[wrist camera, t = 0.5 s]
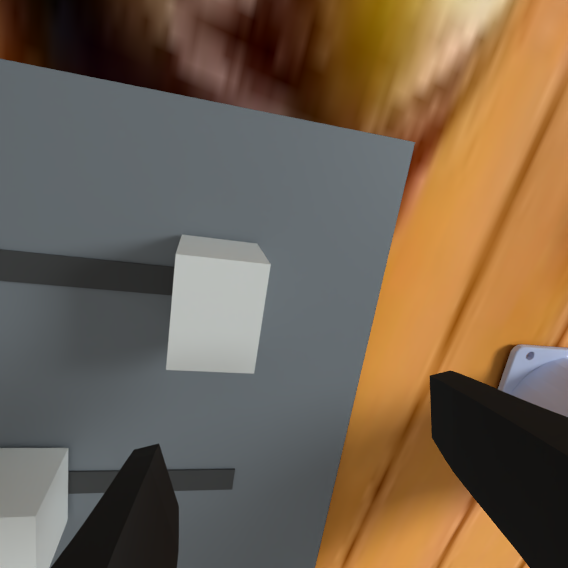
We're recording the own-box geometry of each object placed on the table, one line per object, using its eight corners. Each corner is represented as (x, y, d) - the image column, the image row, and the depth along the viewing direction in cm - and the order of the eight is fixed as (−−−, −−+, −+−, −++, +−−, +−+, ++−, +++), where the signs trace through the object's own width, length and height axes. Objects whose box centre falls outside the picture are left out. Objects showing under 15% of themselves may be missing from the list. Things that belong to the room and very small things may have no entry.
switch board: (403, 143, 17) (416, 142, 16) (308, 558, 23) (313, 576, 22) (-154, 32, 12) (-186, 20, 11) (-83, 585, 19) (-99, 609, 18)
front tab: (257, 243, 16) (270, 264, 13) (244, 332, 17) (254, 373, 14) (181, 234, 15) (175, 254, 12) (173, 327, 16) (165, 370, 13)
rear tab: (68, 447, 17) (35, 516, 14) (67, 519, 18) (36, 599, 15) (-10, 448, 16) (-65, 520, 13) (-6, 522, 17) (-55, 606, 14)
